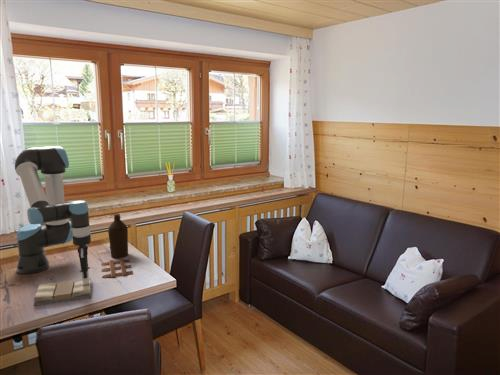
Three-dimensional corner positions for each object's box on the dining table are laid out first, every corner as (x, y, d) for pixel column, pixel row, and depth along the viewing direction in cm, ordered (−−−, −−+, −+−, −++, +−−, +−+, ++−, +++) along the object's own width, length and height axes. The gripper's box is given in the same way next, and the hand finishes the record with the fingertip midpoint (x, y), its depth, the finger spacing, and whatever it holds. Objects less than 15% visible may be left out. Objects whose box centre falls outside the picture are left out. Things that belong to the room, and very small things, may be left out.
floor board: (39, 292, 179) (38, 285, 179) (92, 284, 187) (92, 278, 186) (33, 306, 166) (33, 298, 166) (91, 297, 174) (90, 290, 173)
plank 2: (75, 284, 184) (75, 280, 183) (91, 281, 186) (90, 277, 186) (73, 297, 171) (72, 292, 171) (89, 293, 173) (89, 289, 173)
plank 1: (40, 288, 179) (39, 284, 179) (56, 286, 181) (56, 282, 181) (34, 301, 166) (34, 297, 166) (52, 299, 169) (52, 295, 168)
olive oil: (133, 253, 228) (130, 212, 223) (121, 259, 218) (118, 217, 214) (118, 251, 232) (115, 210, 227) (106, 257, 222) (102, 215, 217)
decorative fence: (129, 260, 219) (101, 264, 214) (129, 257, 219) (100, 261, 214) (133, 276, 198) (102, 280, 193) (133, 272, 198) (101, 277, 193)
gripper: (73, 231, 179) (78, 279, 183) (70, 240, 167) (76, 291, 171) (91, 230, 181) (95, 277, 186) (89, 238, 169) (94, 288, 174)
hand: (86, 283), depth 179 cm, fingers closed
